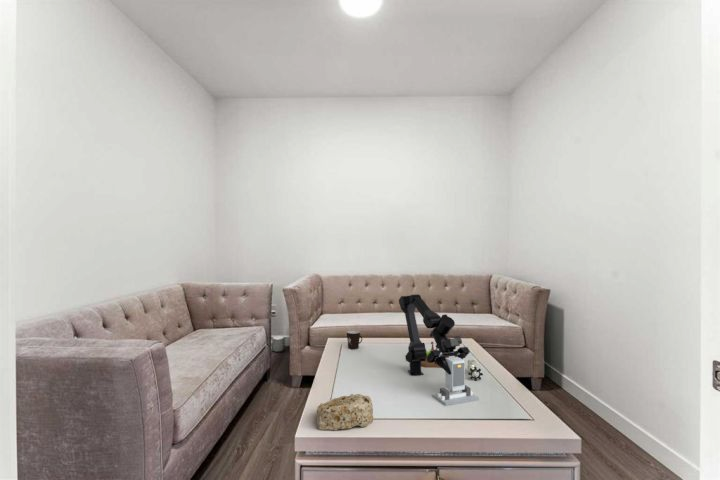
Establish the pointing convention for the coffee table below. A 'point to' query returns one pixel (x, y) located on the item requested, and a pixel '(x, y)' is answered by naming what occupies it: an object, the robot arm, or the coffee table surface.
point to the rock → (345, 412)
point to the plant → (425, 363)
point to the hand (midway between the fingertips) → (456, 373)
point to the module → (455, 374)
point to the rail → (455, 396)
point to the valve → (473, 370)
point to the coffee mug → (353, 339)
